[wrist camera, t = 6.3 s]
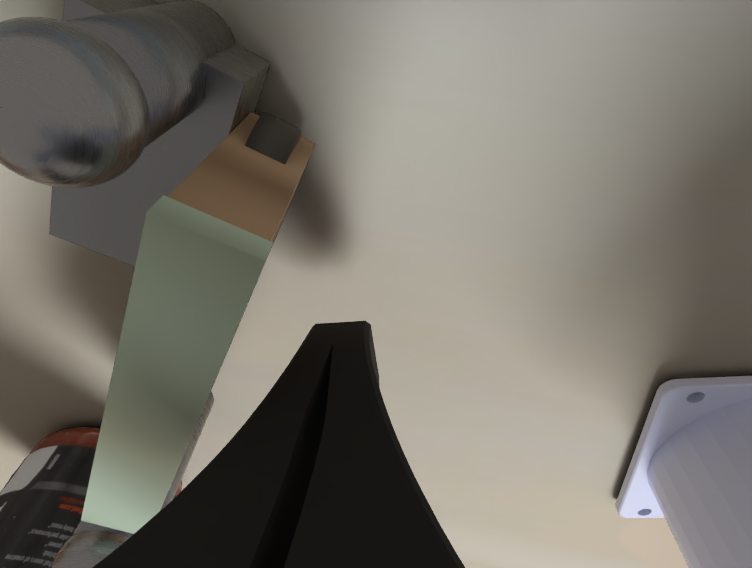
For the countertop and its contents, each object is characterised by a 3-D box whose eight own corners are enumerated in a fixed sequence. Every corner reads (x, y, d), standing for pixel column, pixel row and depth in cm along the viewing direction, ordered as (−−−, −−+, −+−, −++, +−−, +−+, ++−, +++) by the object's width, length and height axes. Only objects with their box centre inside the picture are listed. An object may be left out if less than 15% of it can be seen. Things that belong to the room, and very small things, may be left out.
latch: (130, -41, 9) (-175, -46, 4) (278, 38, 9) (159, 111, 5) (99, 195, 12) (-98, 347, 7) (212, 242, 12) (101, 408, 8)
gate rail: (255, 91, 10) (152, 185, 6) (325, 127, 10) (274, 238, 6) (167, 369, 15) (80, 520, 11) (214, 385, 15) (148, 537, 11)
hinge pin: (204, 373, 15) (96, 599, 10) (224, 414, 17) (138, 635, 11) (143, 376, 16) (5, 599, 10) (168, 416, 17) (57, 634, 11)
